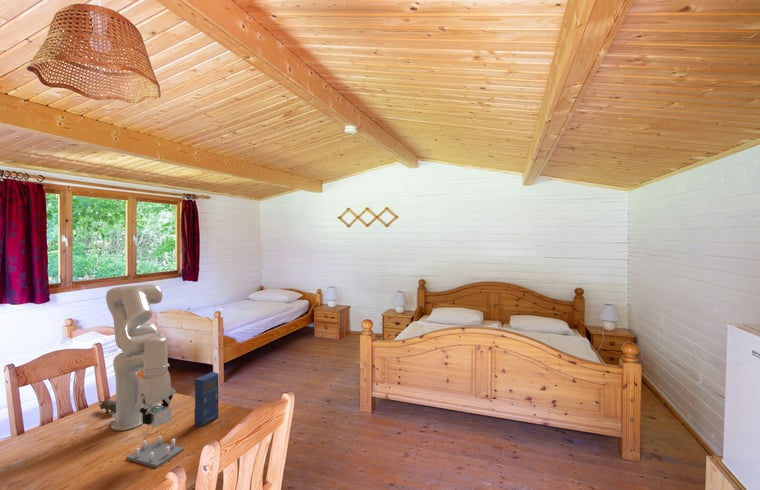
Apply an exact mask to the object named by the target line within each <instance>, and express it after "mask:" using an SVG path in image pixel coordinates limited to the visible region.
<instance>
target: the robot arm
mask: <svg viewBox="0 0 760 490" xmlns="http://www.w3.org/2000/svg"><path fill="white" fill-rule="evenodd" d="M163 297H164V296H163V291H162V289H161V287H160V286H159V285H157V284H140V285H139V284H137V285H135V284H134V285H122V286H117V287H112V288H111V289H108V290H107V291H106V295H105V301H106V305H107V308H108V310H109V313H110V315H111V316H112V319H113V327H114V328H113V329H114V339H115V345H116V347H118V348H119V349H120V350H121V352H120V353H118V354H117V355H115V357H114V358H113V363H112V366H113V372H114V378H115V401H116V414H113V413H112V414H113V415H112V414H111V416H112V417H113V418H114V421H113V422H111V429H112V430H113V431H127V430H132V429H135V428H137V427H140V426H141V425H143V424H144V425H146V424H147V426H149V425H150V424H151V413H149V412H150V409H151V406H152V405H155V404H158V403H160V402H162V403H161V404H160V405H163V406H166V407H169V408H170V404H171V400H172V399H173V397H174V396H175V393H176V389H174V388H173V387H172V380H171V375H170V372H169V369H168V368H170V363H169V362H168V355H169V354H168V352H169V351H168V348H169V347H168V344H169V343H168V338H167V337H166V336H165V335H164V333H162V332H159V330H158V327H157V326H156V325H155V324H154V323H149V321H150V319H151V318H152V317H153V310H152V308H151V305H157V304H159V303H161V302H162V300H163ZM139 372H143V377H142V376H141V377H140V376H139V375H138V374H136V373H139ZM146 408H147V409H146ZM140 412H141V413H142V414H143V423H141V413H140Z"/></svg>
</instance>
